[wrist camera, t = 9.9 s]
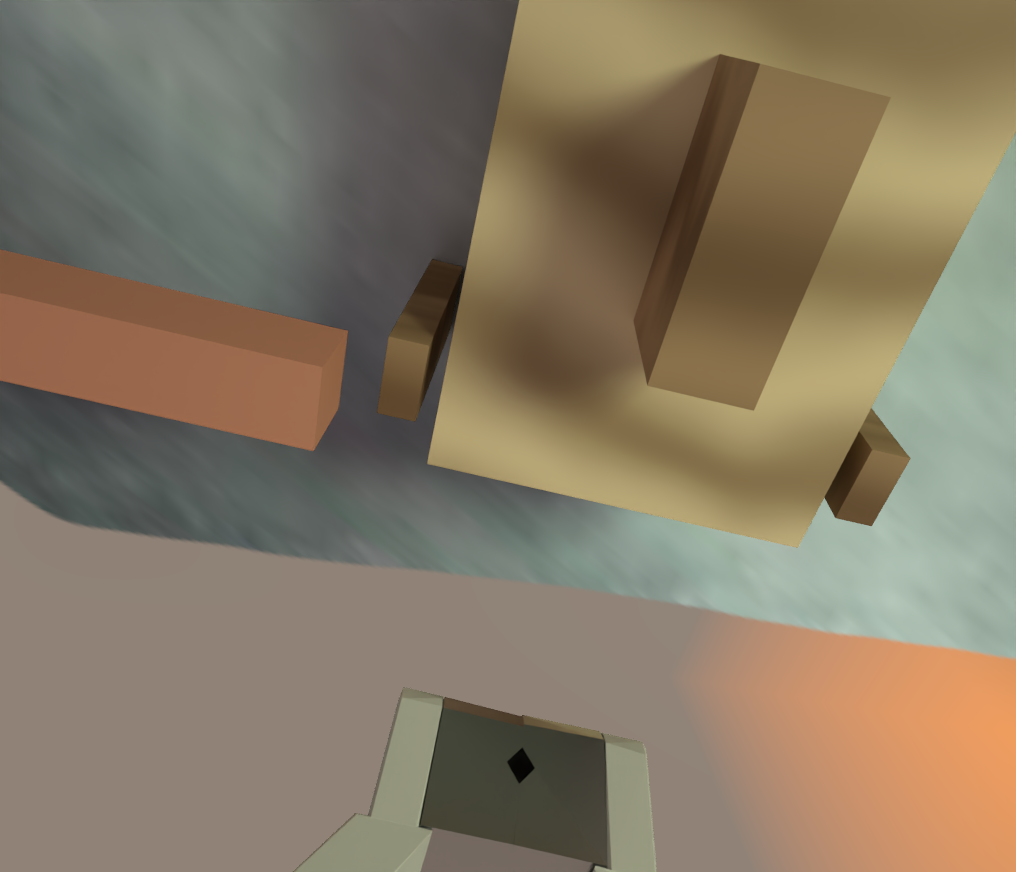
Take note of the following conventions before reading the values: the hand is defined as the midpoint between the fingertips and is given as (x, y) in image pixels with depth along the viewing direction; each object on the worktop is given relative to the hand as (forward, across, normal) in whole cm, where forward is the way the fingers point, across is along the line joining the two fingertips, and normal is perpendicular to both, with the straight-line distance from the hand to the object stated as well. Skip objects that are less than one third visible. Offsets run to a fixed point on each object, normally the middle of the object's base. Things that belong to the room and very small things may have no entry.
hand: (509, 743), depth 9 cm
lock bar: (+17, +15, +5) cm, 23 cm away
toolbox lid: (+20, -4, -3) cm, 21 cm away
